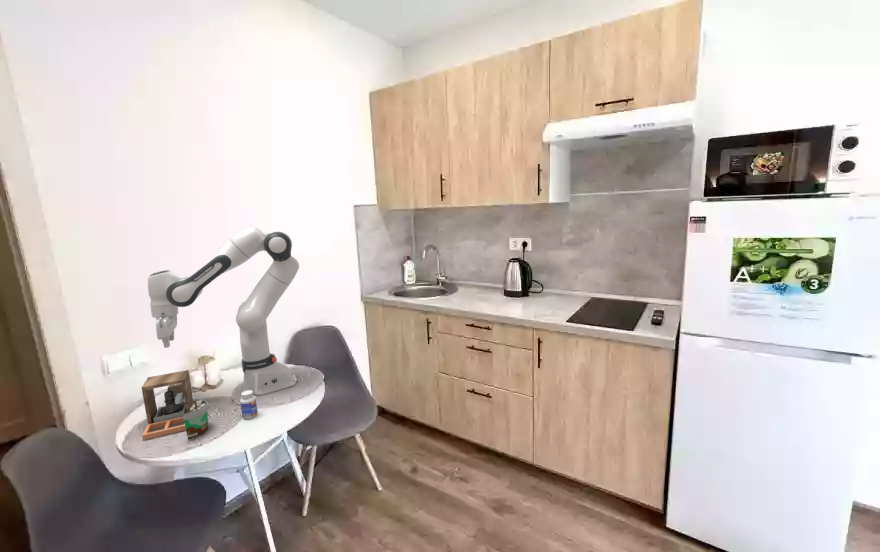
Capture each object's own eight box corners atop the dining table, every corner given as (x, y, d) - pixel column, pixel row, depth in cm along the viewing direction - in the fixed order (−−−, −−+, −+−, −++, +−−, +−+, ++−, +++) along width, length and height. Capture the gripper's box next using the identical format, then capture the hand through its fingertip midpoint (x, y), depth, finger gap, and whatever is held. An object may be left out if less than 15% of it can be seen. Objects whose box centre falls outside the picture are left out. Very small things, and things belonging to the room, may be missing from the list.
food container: (206, 438, 133) (202, 411, 132) (186, 441, 132) (182, 415, 130) (216, 420, 145) (212, 395, 143) (197, 423, 143) (193, 398, 142)
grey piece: (194, 391, 169) (192, 381, 168) (185, 419, 146) (183, 407, 145) (168, 397, 165) (166, 386, 164) (154, 426, 142) (152, 413, 141)
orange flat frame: (190, 419, 146) (190, 414, 146) (187, 430, 139) (186, 425, 139) (148, 429, 140) (147, 424, 140) (143, 440, 133) (142, 435, 133)
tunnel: (194, 407, 155) (188, 369, 153) (191, 419, 147) (184, 379, 144) (155, 416, 150) (148, 377, 147) (148, 428, 141) (141, 387, 138)
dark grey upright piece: (172, 422, 145) (167, 392, 143) (159, 421, 146) (154, 391, 144) (185, 414, 150) (180, 385, 148) (173, 413, 152) (168, 384, 150)
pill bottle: (255, 418, 145) (252, 395, 143) (240, 420, 144) (236, 396, 143) (259, 411, 150) (256, 388, 149) (245, 413, 149) (241, 390, 148)
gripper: (169, 315, 147) (174, 350, 149) (178, 304, 165) (182, 335, 168) (149, 317, 144) (154, 352, 147) (160, 306, 163) (165, 337, 165)
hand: (169, 343), depth 157 cm, fingers open, 8 cm apart
